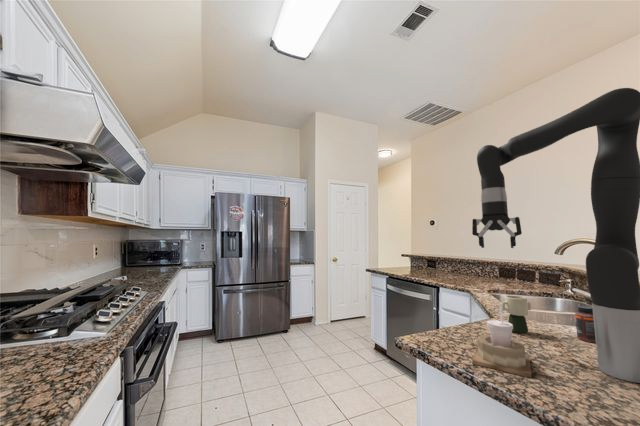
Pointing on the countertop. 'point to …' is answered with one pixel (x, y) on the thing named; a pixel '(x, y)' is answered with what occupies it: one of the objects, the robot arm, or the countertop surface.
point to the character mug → (517, 312)
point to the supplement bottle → (585, 324)
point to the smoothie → (500, 331)
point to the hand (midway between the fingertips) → (497, 247)
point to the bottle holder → (502, 356)
